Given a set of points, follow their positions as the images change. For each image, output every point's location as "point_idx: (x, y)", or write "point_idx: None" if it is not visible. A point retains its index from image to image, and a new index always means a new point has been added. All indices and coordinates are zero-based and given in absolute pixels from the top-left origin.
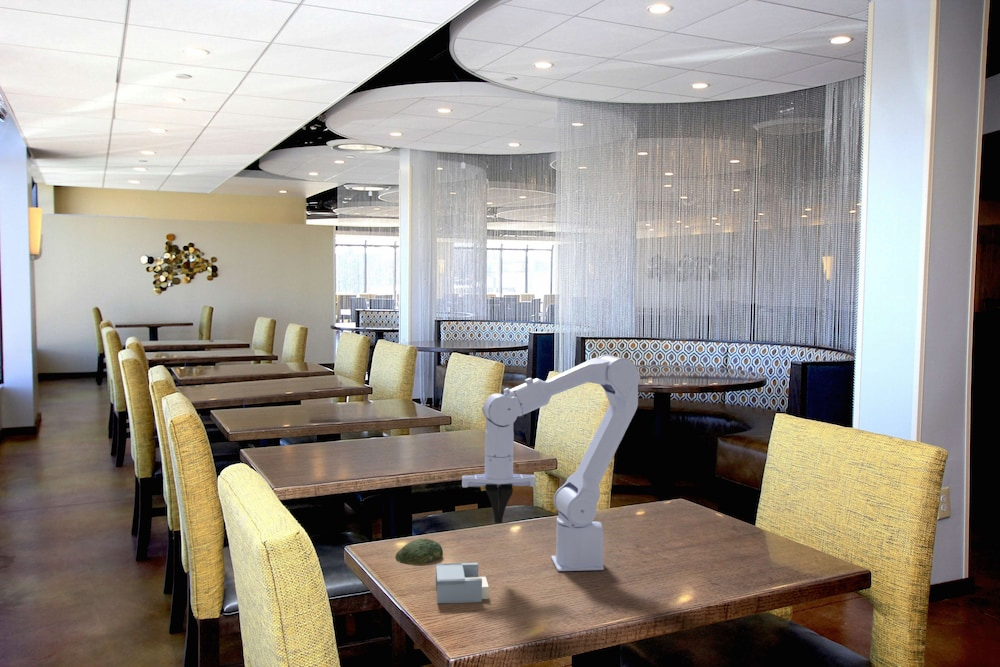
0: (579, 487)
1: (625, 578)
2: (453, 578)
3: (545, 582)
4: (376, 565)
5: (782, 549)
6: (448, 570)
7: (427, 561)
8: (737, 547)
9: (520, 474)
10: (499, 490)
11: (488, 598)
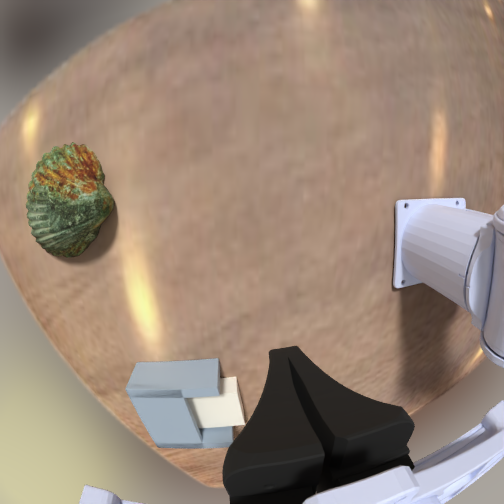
0: None
1: None
2: (180, 441)
3: (356, 339)
4: (16, 266)
5: None
6: (161, 417)
7: (87, 245)
8: None
9: (488, 462)
10: (323, 472)
11: (243, 410)
